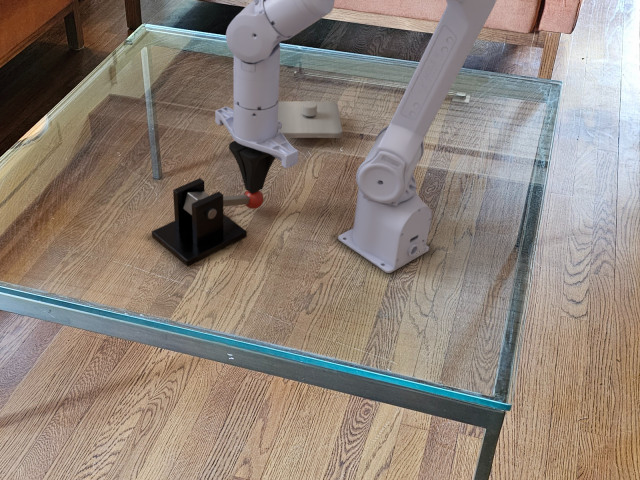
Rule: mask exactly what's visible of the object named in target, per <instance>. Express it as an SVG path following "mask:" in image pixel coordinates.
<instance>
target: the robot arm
mask: <svg viewBox="0 0 640 480" xmlns="http://www.w3.org/2000/svg"><path fill="white" fill-rule="evenodd" d="M335 1H336V0H252V1H251V2H249V3H248V4H247V5H246V6H245V7H244V8H243V9H242V10H241V11H240V12H239V13H237V15H236V16H235V17H233V19H232V20H231V21H230V22H229V24H228V26H227V29H226V32H225V41H226V44H227V47H228V49H229V50H230V52H231V53H232V55H233V69H232V70H233V71H232V72H233V84H232V85H233V87H232V89H233V98H232V99H233V108H231V107H230V106H224V107H221V108H218V109H215V111H214V113H215V118H214V119H215V124H216V125H218V126H220V127H221V126H224V127H225V128H226V130H227V131H228V133H229V134H230V136H231V137H232V139H233V141H231V142H229V144H228V150H229V151H230V152H231V154H232V155H233V157H234V159H235V161H236V163H237V165H238V169H239V171H240V174H241V177H242V182H243V185H244V188H245V190H246V191H249V192H250V193H255V192H257V191H261V190H263V188H264V186H265V182H266V179H267V176H268V173H269V171H270V169H271V166H272V165H273V163H274V162H275V160H276V159H277V160H279V161H280V162H281V167H283V168H284V169H289V168H292V167H294V166H295V165H298V163H299V150H298V149H296V147H294V146H293V145H292V144H291V143H290V141H289V140H288V139H287V138H286V137H285V136H284V135H283V133H282V132H281V131H280V129H281V128H282V122H280V121H279V120H278V103H279V102H280V101H279V98H280V77H281V76H280V75H281V74H280V73H281V64H280V63H281V45H280V44H281V42H283V41H288V40H290V39H292V38H293V37H295V36H297V35H298V34H299V33H301V32H302V31H304V30H306V29H307V28H308V27H310V26H312V25H313V24H315V23H317V22H318V21H320V20H321V19H323V18H325V17H326V16H328V15H330V13H332V12H333V10H334V6H335ZM445 1H446V7H445V9H444V11H443V12H442V14H441V17H440V18H439V21H438V23H437V25H436V27H435V29H434V31H433V34H432V35H431V37H430V40H429V41H428V44H427V46H426V48H425V50H424V52H423V54H422V56H421V58H420V60H419V62H418V64H417V66H416V68H415V71H414V73H413V74H412V77H411V79H410V80H409V83H408V85H407V87H406V89H405V91H404V93H403V96H402V98H401V100H400V101H399V104H398V105H397V108H396V110H395V112H394V113H393V116H392V117H391V120H390V122H389V124H388V125H386V126H385V127H383V128H382V129H381V130H380V131H379V132H378V133H377V135H376V137H375V140H374V143H373V144H372V146H371V148H370V150H369V152H368V154H367V155H366V157H365V159H364V161H363V162H361V164H360V165H359V166H358V168H357V171H356V174H355V182H356V185H357V187H358V188H357V196H356V204H355V212H354V218H353V219H354V220H353V227H352V228H350V229H349V230H347V231H344V232H343V233H341V234H339V235H338V241H340V242H341V243H342V244H344V245H345V246H347V247H348V248H350V249H351V250H353V251H354V252H356V253H357V254H359V255H360V256H362V257H363V258H364V259H366V260H367V261H369V262H370V263H372V264H373V265H374V266H376V267H377V268H379V269H380V270H382V271H383V272H385V273H387V274H391V273H393V272H395V271H397V270H398V269H400V268H402V267H404V266H405V265H407V264H408V263H410V262H412V261H414V260H416V259H418V258H419V257H421V256H422V255H424V254H426V253H427V252H429V250H430V246H428V245H427V243H428V239H429V234H430V229H431V224H432V218H433V211H432V209H431V208H430V207H429V205H428V204H426V203H425V202H424V201H423V200H422V198H421V197H420V195H419V193H418V191H417V187H418V186H417V185H418V184H417V183H416V178H415V174H414V172H415V170H416V168H417V166H418V164H419V163H420V162H421V160H422V158H423V155H424V153H425V143H424V141H425V138H426V136H427V134H428V132H429V130H430V128H431V126H432V124H433V122H434V120H435V119H436V117H437V115H438V113H439V111H440V109H441V108H442V106H443V103H444V102H445V100H446V98H447V96H448V94H449V92H450V90H451V89H452V87H453V85H454V83H455V81H456V79H457V78H458V75H459V73H460V71H461V69H462V68H463V66H464V64H465V62H466V60H467V59H468V56H469V55H470V52H471V51H472V49H473V47H474V45H475V43H476V42H477V39H478V37H479V36H480V34H481V32H482V30H483V28H484V26H485V24H486V22H487V20H488V19H489V17H490V15H491V13H492V11H493V9H494V7H495V4H497V1H498V0H445ZM419 251H421V252H419ZM418 252H419V253H418ZM416 253H417V254H416Z"/></svg>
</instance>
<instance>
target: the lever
mask: <svg viewBox="0 0 640 480" xmlns="http://www.w3.org/2000/svg"><path fill="white" fill-rule="evenodd" d="M208 196H210V194H209V193H206V191H205V192H204V191H200V192H188V193H187V196H186V200H185V204H184V208H183V209H184V210H186V211H187V212H188V213H190V214H191V215H192V203H194V202H197V201H199V200H201V199H203V198H205V197H208ZM263 204H264V194H263V192H262V191H261V190H259V191H257V192H255V193H250V192H249V191H247V190H246V191H245V192H244V194H235V195H223V208H224V207H233V206H245V207H247V208H248V209H251V210H257V209H258V208H260V207H262V205H263Z"/></svg>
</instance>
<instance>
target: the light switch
mask: <svg viewBox="0 0 640 480" xmlns="http://www.w3.org/2000/svg"><path fill="white" fill-rule="evenodd" d="M278 120H279V121H280V122H282V128H281V129H280V131H281V132H282V133H283V135H284V136H285V137H286V139H287V138H290V139H291V138H292V139H293V138H296V139H340V138H341V137H343V131H344V130H343V125H342V120H341V115H340V110H339V105H338V103H337V102H336V101H330V100H329V101H327V100H326V101H323V100H322V101H320V100H319V101H318V100H317V101H316V100H315V101H314V100H305V101H304V100H303V101H302V100H300V101H297V100H296V101H293V100H291V101H287V100H285V101H283V100H282V101H279V103H278Z"/></svg>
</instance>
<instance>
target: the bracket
mask: <svg viewBox="0 0 640 480" xmlns="http://www.w3.org/2000/svg"><path fill="white" fill-rule="evenodd" d="M200 191H204V192H205V193H206V190H205V181H204V180H203V178H200V177H199V178H197V179H194V180H192V181H190V182H188V183H186V184H183V185H180V186H179V187H176V188H174V189H172V195H173V197H172V198H173V213H174V220H173V221H171V222H169V223H167V224H164V225H162V226H160V227H158V228H156V229H153V230H152V231H151V237H152V239H154V240H155V241H156V242H158V243H159V244H160V245H161V246H162V247H163V248H165V249H166V250H167V252H169V253H170V254H172V255H173V256H174V257H175V258H177V260H179V261H180V262H181V263H183V264H184V265H185V266H186V267H189V266H191V265H193V264H195V263H197V262H199V261H201V260H203V259H205V258H208V257H209V256H211V255H213V254H215V253H218V252H219V251H221V250H223V249H226V248H227V247H230V246H232V245H234V244H235V243H237V242H239V241H241V240H243V239H246V238H247V237H248V231H247V230H246V229H244V228H243V226H241V225H239V224H238V223H237V222H235V221H234V220H233V219H231V218H229V216H227V215H226V214H224V207H223V196H224V194H222V192H220V191H216V192H215V193H212V194H209V196H208V197H205V198H203V199H201V200H199V201H197V202H194V203H192V215H191V214H190V213H188V212H187V211H186V210H184V209H183V208H184V204H185V200H186V196H187V193H188V192H200Z"/></svg>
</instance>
